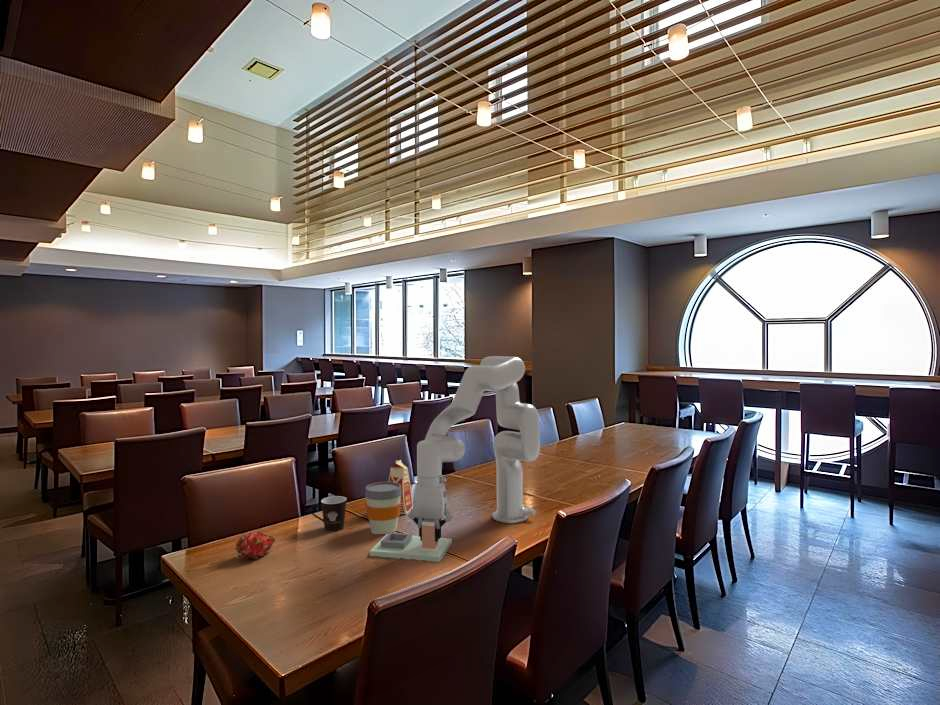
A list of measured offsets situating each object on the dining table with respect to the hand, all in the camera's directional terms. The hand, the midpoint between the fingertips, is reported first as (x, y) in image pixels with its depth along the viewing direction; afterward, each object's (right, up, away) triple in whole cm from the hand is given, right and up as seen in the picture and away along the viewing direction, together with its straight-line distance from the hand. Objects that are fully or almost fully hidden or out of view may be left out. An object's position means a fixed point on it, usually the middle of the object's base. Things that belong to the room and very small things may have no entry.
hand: (430, 539), depth 156 cm
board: (-6, -4, +1) cm, 7 cm away
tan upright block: (0, -2, 0) cm, 2 cm away
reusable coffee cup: (-17, -4, +18) cm, 26 cm away
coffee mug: (-36, -4, +20) cm, 42 cm away
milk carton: (-15, -3, +38) cm, 41 cm away
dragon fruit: (-53, -5, -3) cm, 53 cm away
